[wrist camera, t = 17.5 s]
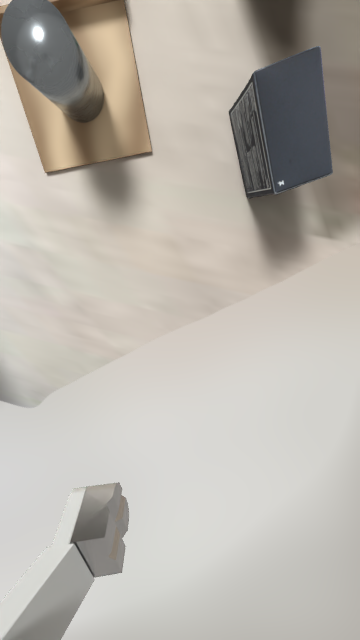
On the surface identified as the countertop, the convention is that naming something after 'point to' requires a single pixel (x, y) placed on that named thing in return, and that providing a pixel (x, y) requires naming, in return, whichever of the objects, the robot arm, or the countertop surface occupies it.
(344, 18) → the countertop surface
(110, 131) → the wooden tray board
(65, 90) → the slate tin
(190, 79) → the countertop surface
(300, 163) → the small box
